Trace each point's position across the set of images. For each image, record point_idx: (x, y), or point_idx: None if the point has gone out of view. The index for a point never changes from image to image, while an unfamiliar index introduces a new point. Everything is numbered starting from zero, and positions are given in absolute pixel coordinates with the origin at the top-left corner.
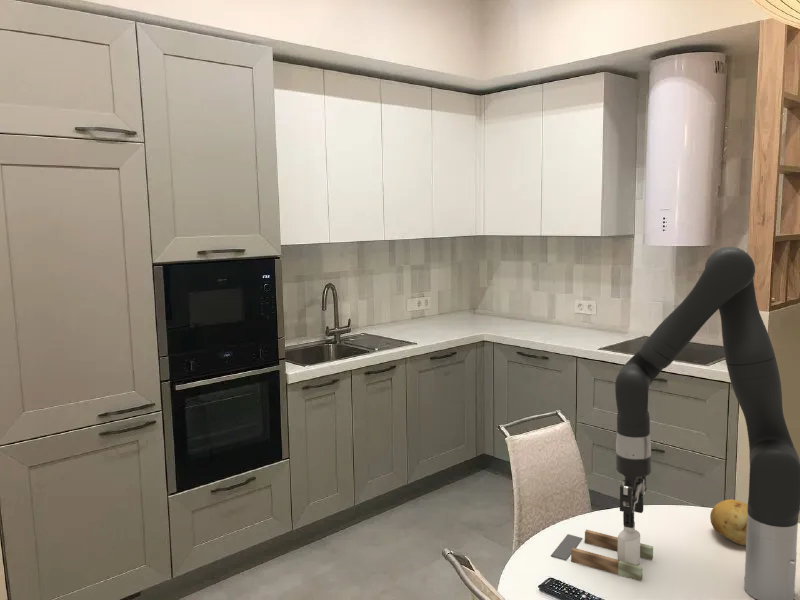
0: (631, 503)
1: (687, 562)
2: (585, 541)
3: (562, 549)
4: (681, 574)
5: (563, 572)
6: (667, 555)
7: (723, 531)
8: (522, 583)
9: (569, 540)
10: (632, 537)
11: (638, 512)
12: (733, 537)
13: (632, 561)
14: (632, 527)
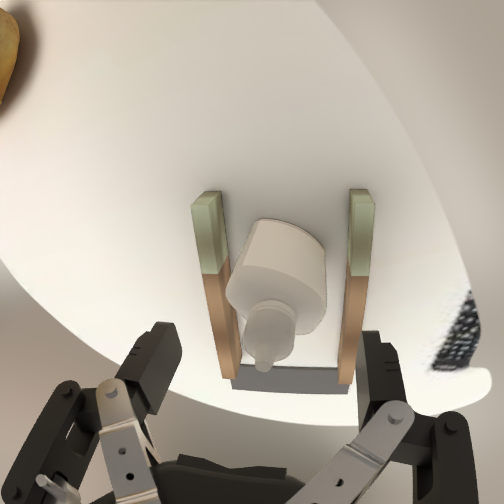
0: (463, 472)
1: (162, 97)
2: (241, 358)
3: (309, 385)
4: (247, 89)
5: (404, 357)
6: (159, 159)
7: (6, 68)
8: (462, 390)
9: (258, 382)
10: (300, 290)
11: (177, 334)
12: (14, 42)
13: (304, 239)
14: (376, 332)
